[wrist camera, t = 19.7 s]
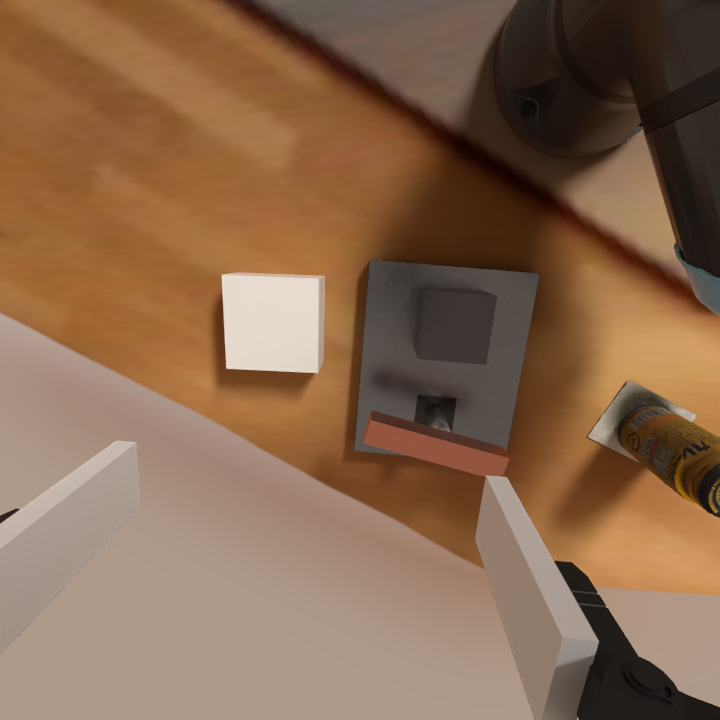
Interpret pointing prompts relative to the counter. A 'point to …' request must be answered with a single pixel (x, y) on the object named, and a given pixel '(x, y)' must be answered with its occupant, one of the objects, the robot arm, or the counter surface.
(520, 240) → the counter surface
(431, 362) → the latch plate
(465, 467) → the t key
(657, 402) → the condiment
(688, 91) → the robot arm
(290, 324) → the cover
